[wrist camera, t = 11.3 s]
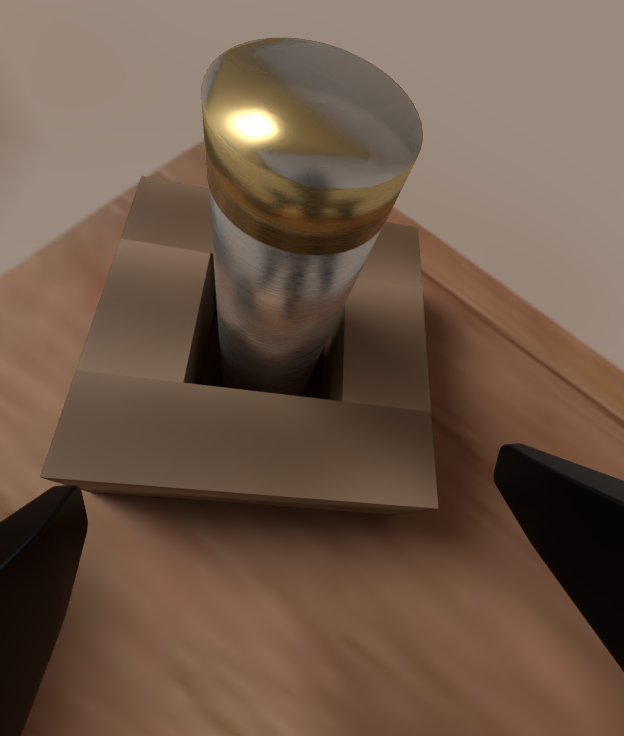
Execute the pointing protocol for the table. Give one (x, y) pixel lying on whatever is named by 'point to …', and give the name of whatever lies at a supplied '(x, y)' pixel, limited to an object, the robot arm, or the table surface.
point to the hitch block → (244, 407)
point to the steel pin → (296, 196)
